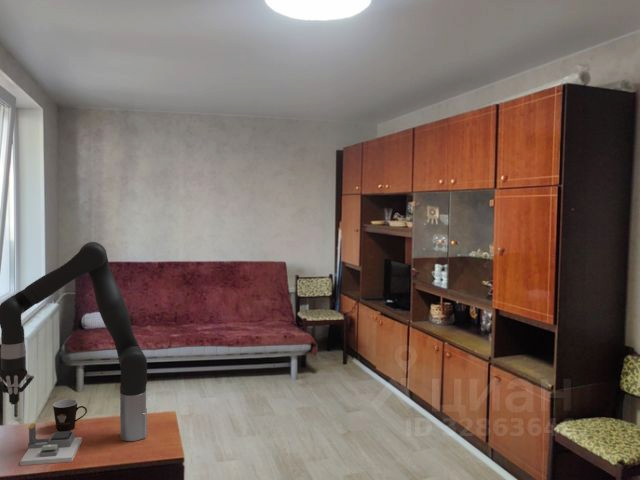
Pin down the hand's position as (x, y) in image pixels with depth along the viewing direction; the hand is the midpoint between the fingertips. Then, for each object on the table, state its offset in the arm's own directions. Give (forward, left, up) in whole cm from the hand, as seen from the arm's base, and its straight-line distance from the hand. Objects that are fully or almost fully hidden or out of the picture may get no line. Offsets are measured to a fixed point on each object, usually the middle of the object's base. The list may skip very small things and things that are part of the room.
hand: (14, 403), depth 193 cm
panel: (-13, +4, -17) cm, 22 cm away
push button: (-15, 0, -15) cm, 21 cm away
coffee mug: (-14, -16, -17) cm, 27 cm away
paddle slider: (-6, 0, -15) cm, 16 cm away
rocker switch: (-13, +8, -14) cm, 21 cm away
